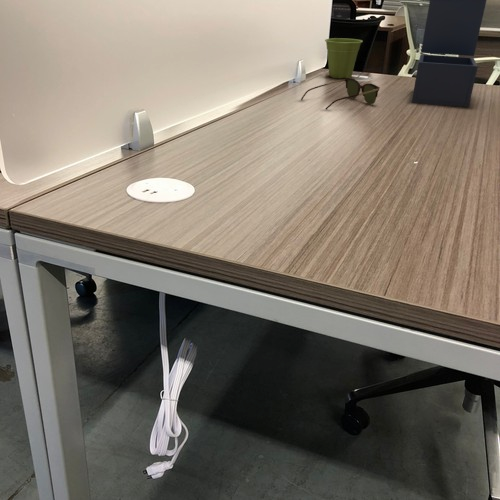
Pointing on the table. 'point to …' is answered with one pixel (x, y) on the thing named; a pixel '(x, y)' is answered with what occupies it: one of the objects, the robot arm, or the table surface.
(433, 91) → the chest
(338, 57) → the plant pot
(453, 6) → the lid
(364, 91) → the sunglasses
